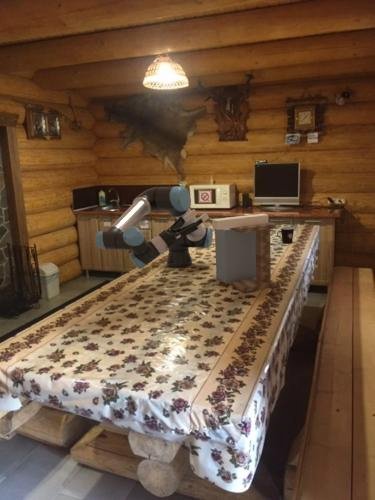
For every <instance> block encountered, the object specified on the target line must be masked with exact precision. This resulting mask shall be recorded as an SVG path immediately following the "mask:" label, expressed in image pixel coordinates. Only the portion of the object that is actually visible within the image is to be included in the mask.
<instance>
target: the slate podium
mask: <svg viewBox="0 0 375 500" xmlns="http://www.w3.org/2000/svg"><path fill="white" fill-rule="evenodd" d="M214 242H215V243H214V246H215V247H214V250H215V273H216V279H218V280H219V281H221V282H222V283H224V284H226V285H227V284H231V281H236V280H242V279H248V278H254V277H256V231H252V232H244V233H240V232H237V231H234V230H231V229H229V228H227V229H219V230H216V229H214Z"/></svg>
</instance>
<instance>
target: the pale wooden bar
mask: <svg viewBox="0 0 375 500" xmlns="http://www.w3.org/2000/svg"><path fill="white" fill-rule="evenodd" d="M211 220H212V222H211V223H212V229H214V230H215V229H216V230H219V229H227V228H236V227H244V226H252V225H260V224H268V222H269V214H266V213H257V214H255V213H254V214H248V215H240V216H237V215H236V216H230V217H222V218H214V219H211Z"/></svg>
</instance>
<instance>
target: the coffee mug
mask: <svg viewBox="0 0 375 500" xmlns="http://www.w3.org/2000/svg"><path fill="white" fill-rule="evenodd" d="M294 230H295V228H294V227H291V226H286V227H285V226H284V227H281V228H280V230H279V231H277V232H276V235H277V237H278V238H279V239H280V240H281V241H282V244H284V245H285V244H286V245H289V244H292V243H293V239H294ZM279 233H280V234H281V237H280V236H279Z"/></svg>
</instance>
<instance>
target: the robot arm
mask: <svg viewBox="0 0 375 500" xmlns="http://www.w3.org/2000/svg"><path fill="white" fill-rule="evenodd" d="M191 202H192V199H191V195H190V191H189V190H188V188H186V187H184V186H178V185H177V186H154V187H151V188H148V189H146V190H144V191H142V192H141V193H140V194H139V195H137V196H136V197H135V198H134V199H133V201H132V205H130V207H128V208H127V209H126V210H125V211H124V212H123V214H122V215H120V216H119V218H118V219H117V220H115V222H114V223H113V224H112V225H111V226H110V227H109V228H108V229H106V230H102V231H97V233H96V234H95V236H94V237H95V238H94V241H95V242H94V243H95V245H96V247H97V248H98V249H103V250H104V249H105V250H121V251H131V254H130V256H129V259H130V260H131V261H132V263H133V264H134V265H135V267H136V268H138V269H139V270H142V269H143V268H145V267H147V266H149V264H151V263H152V262H153V261H154V260H156V259H157V258H158V257H159V256H161V255H164V253H165V252H166V251H167V250H168V255H167V258H166V266H167V267H169V266H170V267H169V268H176V267H178V268H185V267H189V266H192V265H193V259H192V255H191V253H190V251H189V250H190V249H189V248H193V249H194V248H195V249H208V248H210V247H211V246H212V244H213V237H214V232H213V227H212V228H211V227H206V226H205V224H203V223H205V221H207V220H209V219H210V217H209V215H208V213H207V212H204V213H203V214H201V215H200V216H199V217H198V218H197V217H196V216H197V215H198V212H197V211H196V209H191V208H190V207H191ZM151 212H167V213H168V214H169V216H171V217H172V218H175V219H176V220H175V221H174V222H173V223H172V225H170V226H169V227H168V228H167V229H166V230H163V231H161V232H160V233H159V234H158V235H156V236H154V237H153V238H152V239H151V240H149V241H147V239H146V238H145V236H144V234H143V232H142V231H141V230H140V228H139V227H138V226H137V227H136V225H137V224H138V223H139V222H140V221H141V220H142V219H143V218H144V216H148V215H149V214H150V213H151Z"/></svg>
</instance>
